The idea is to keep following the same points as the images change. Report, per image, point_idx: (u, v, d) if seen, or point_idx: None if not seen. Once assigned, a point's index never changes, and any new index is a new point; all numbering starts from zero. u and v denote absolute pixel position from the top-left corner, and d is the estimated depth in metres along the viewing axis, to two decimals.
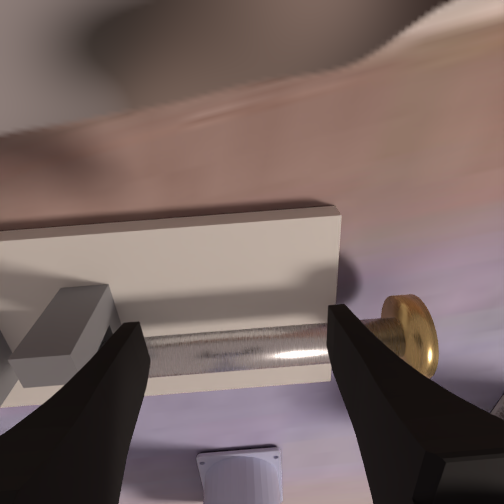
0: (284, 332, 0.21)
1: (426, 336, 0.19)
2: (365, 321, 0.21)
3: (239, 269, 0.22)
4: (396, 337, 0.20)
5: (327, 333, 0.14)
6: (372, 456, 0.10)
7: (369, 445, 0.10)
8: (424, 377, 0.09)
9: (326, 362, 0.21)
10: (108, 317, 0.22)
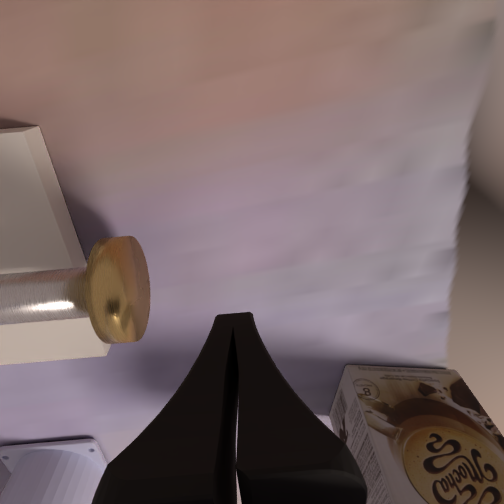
0: None
1: (100, 281, 0.14)
2: (64, 269, 0.17)
3: None
4: None
5: None
6: None
7: None
8: (287, 389, 0.09)
9: (6, 321, 0.16)
10: None
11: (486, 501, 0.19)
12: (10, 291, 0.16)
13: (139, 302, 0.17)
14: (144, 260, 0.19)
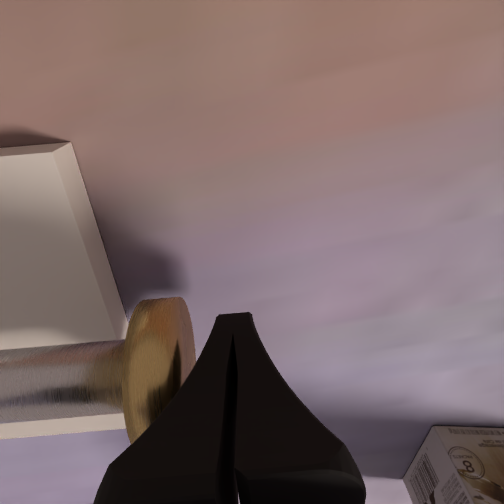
0: None
1: (144, 380, 0.10)
2: (86, 346, 0.12)
3: None
4: (122, 377, 0.11)
5: None
6: None
7: None
8: (286, 389, 0.09)
9: (6, 421, 0.11)
10: None
11: None
12: (10, 383, 0.11)
13: None
14: (189, 321, 0.14)
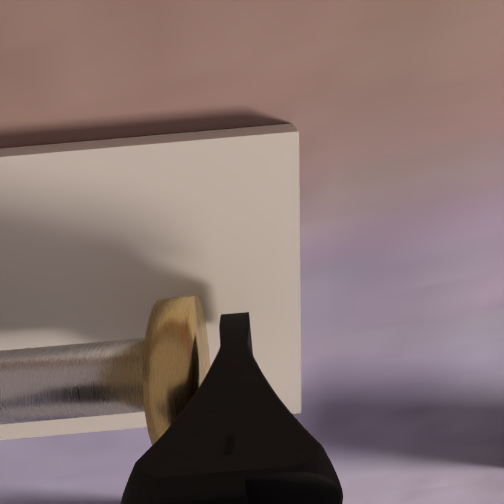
0: None
1: (165, 378, 0.10)
2: (103, 345, 0.12)
3: (129, 236, 0.13)
4: (140, 376, 0.11)
5: None
6: None
7: None
8: (268, 390, 0.09)
9: (23, 421, 0.11)
10: None
11: None
12: (28, 382, 0.11)
13: None
14: (204, 320, 0.14)
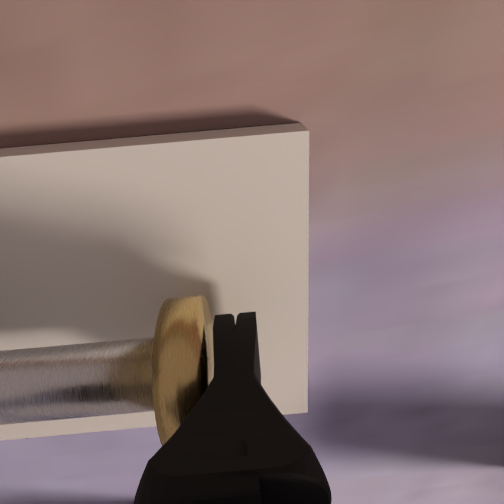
0: None
1: (175, 378, 0.10)
2: (111, 344, 0.12)
3: (138, 235, 0.13)
4: (149, 375, 0.11)
5: None
6: None
7: None
8: (260, 391, 0.09)
9: (31, 420, 0.11)
10: None
11: None
12: (36, 381, 0.11)
13: None
14: (210, 320, 0.14)
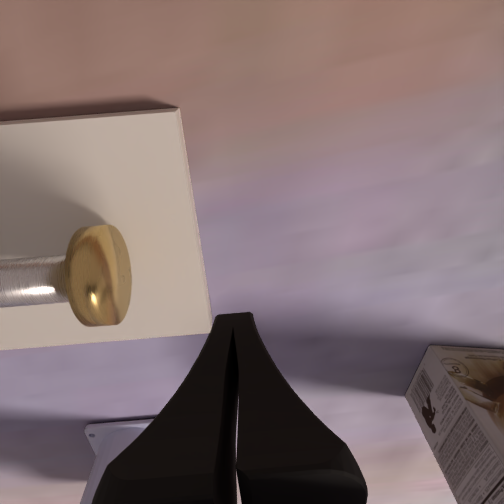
0: None
1: (79, 265, 0.15)
2: (47, 256, 0.17)
3: (66, 185, 0.19)
4: None
5: None
6: None
7: None
8: (287, 389, 0.09)
9: None
10: None
11: None
12: None
13: (119, 288, 0.18)
14: (125, 249, 0.20)
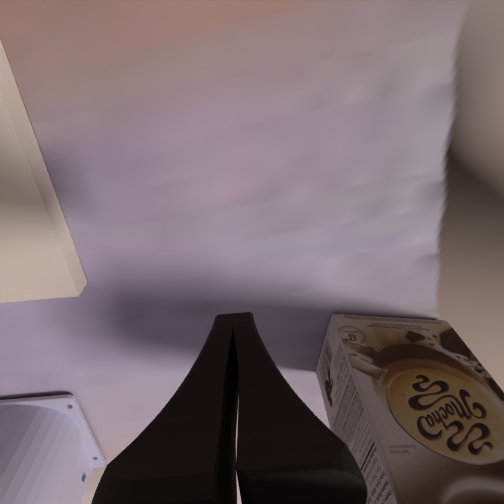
0: None
1: None
2: None
3: None
4: None
5: None
6: None
7: None
8: (287, 389, 0.09)
9: None
10: None
11: (473, 436, 0.18)
12: None
13: None
14: None
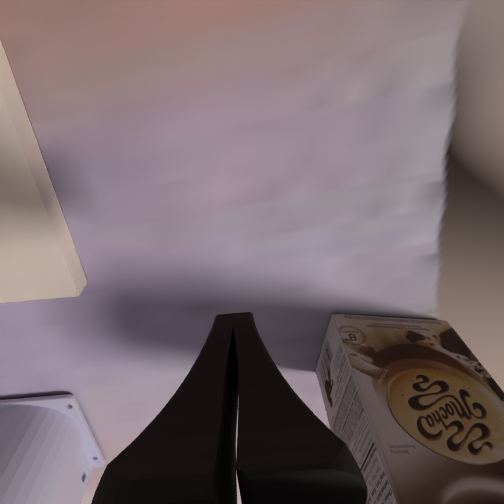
0: None
1: None
2: None
3: None
4: None
5: None
6: None
7: None
8: (287, 389, 0.09)
9: None
10: None
11: (473, 436, 0.18)
12: None
13: None
14: None
